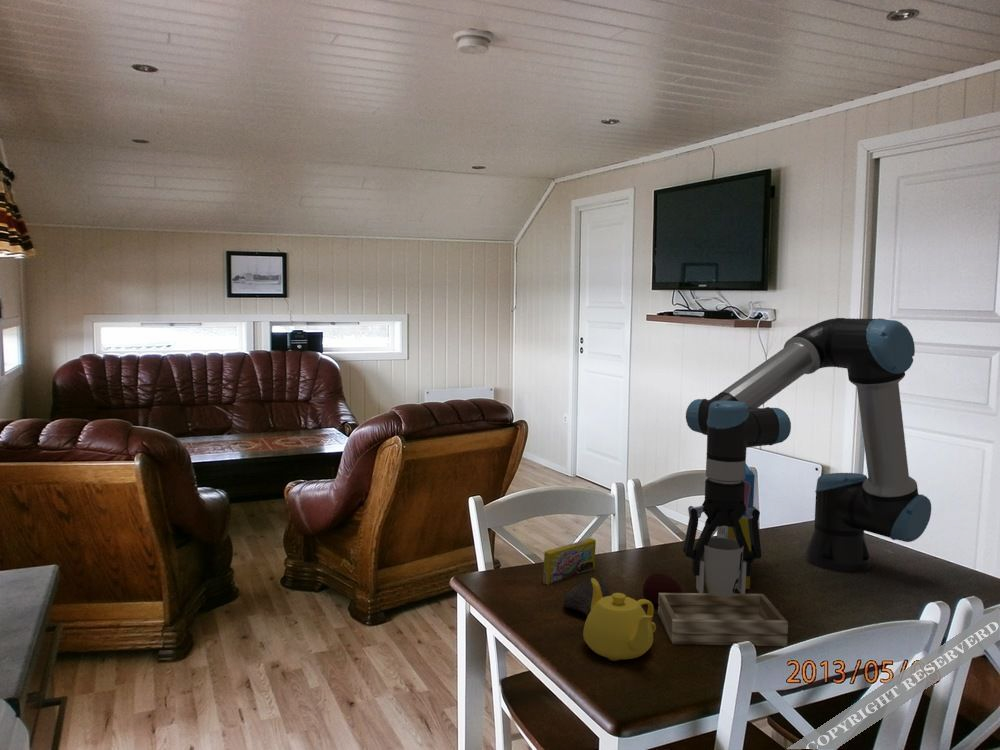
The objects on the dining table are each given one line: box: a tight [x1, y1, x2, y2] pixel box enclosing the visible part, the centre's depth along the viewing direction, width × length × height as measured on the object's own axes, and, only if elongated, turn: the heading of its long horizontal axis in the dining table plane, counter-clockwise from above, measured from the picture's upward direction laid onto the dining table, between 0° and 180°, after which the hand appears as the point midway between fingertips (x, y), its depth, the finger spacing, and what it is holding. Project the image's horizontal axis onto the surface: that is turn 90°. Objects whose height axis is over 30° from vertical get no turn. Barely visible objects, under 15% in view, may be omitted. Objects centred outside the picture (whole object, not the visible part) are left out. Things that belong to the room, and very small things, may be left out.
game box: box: [716, 463, 756, 590], centre depth 181 cm, size 21×6×27 cm, turn 170°
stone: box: [563, 578, 612, 618], centre depth 158 cm, size 10×8×10 cm
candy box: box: [542, 537, 597, 586], centre depth 178 cm, size 16×2×8 cm, turn 131°
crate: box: [657, 592, 789, 647], centre depth 150 cm, size 22×14×5 cm, turn 89°
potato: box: [642, 572, 683, 606], centre depth 163 cm, size 7×8×7 cm
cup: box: [701, 536, 744, 597], centre depth 149 cm, size 8×8×10 cm
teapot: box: [582, 577, 657, 662], centre depth 141 cm, size 20×15×12 cm
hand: (720, 590), depth 150 cm, fingers closed on cup, 8 cm apart
